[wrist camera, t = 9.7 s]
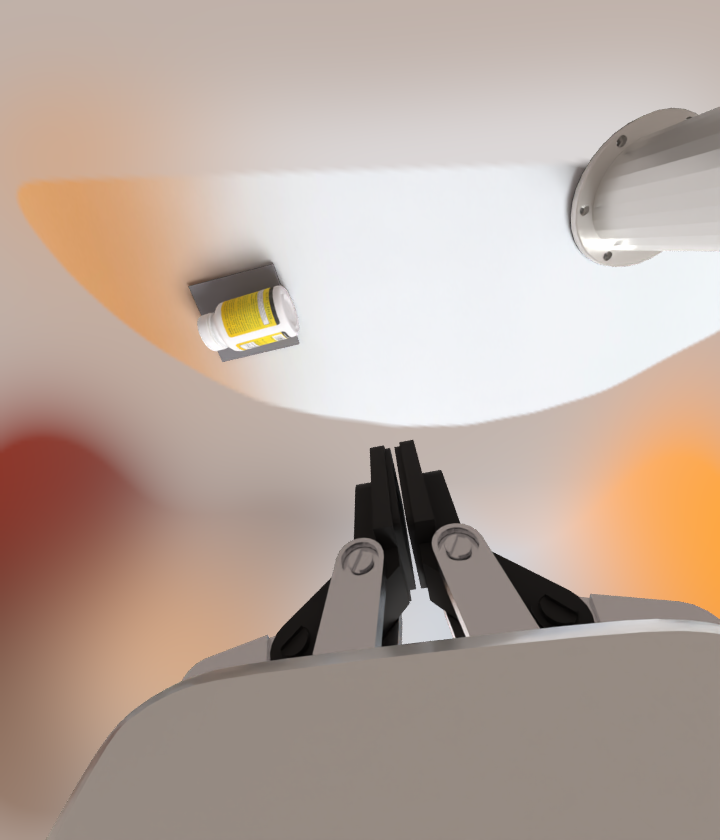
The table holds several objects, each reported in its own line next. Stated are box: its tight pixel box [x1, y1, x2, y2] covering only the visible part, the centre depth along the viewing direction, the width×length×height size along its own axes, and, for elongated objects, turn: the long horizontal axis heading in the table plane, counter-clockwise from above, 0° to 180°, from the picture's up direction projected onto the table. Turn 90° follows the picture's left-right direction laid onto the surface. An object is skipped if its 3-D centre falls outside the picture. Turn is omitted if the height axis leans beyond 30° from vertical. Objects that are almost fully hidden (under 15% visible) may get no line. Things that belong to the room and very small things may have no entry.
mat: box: [188, 264, 299, 362], centre depth 37 cm, size 10×9×1 cm
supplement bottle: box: [197, 285, 299, 351], centre depth 35 cm, size 5×5×10 cm
